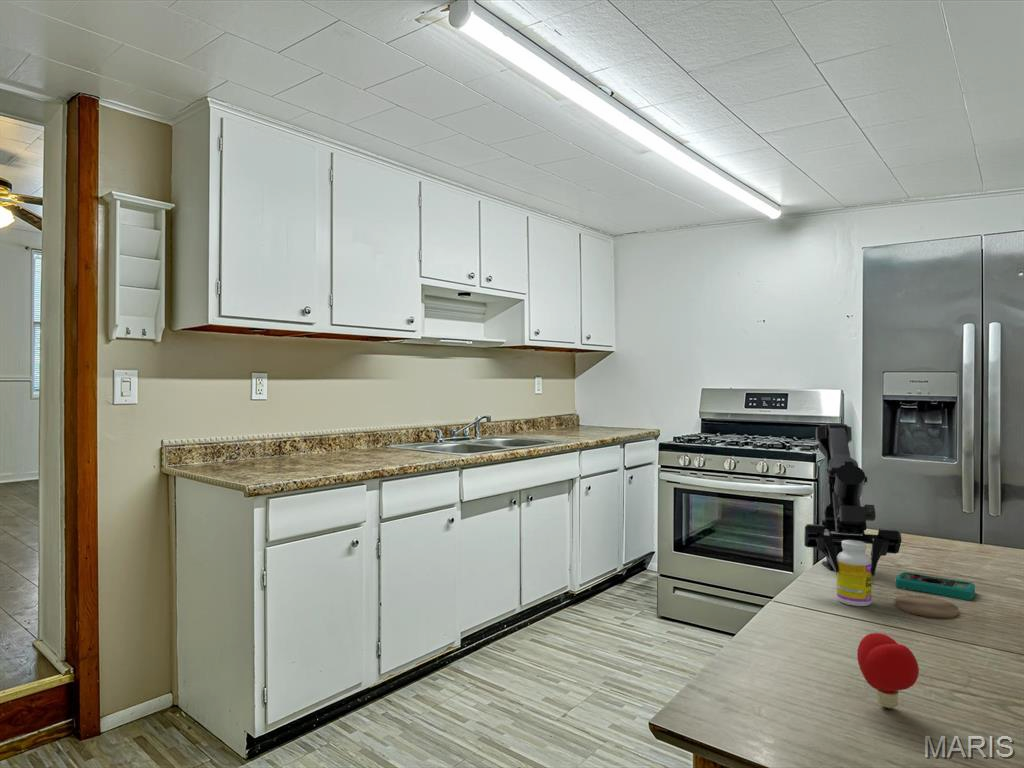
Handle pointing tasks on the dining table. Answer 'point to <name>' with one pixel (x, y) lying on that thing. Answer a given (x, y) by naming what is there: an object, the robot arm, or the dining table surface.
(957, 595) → the digital multimeter
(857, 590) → the supplement bottle
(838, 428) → the robot arm
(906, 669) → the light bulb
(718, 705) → the dining table surface
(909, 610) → the coaster
